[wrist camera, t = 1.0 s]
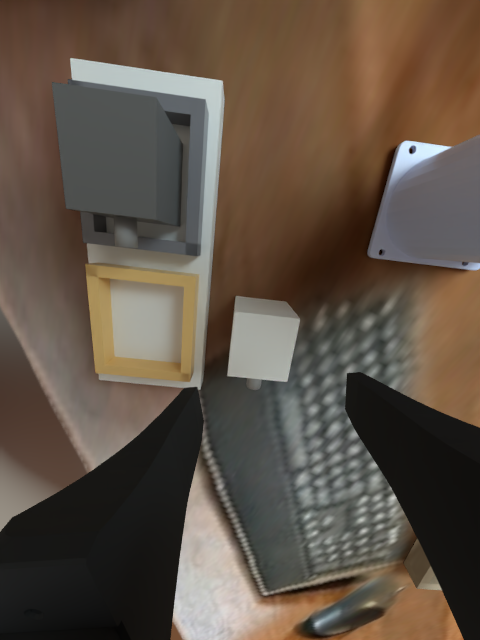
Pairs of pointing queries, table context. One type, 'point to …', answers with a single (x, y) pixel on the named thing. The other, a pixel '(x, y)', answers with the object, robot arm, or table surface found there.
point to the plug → (262, 340)
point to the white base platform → (157, 244)
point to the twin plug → (118, 158)
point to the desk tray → (420, 569)
